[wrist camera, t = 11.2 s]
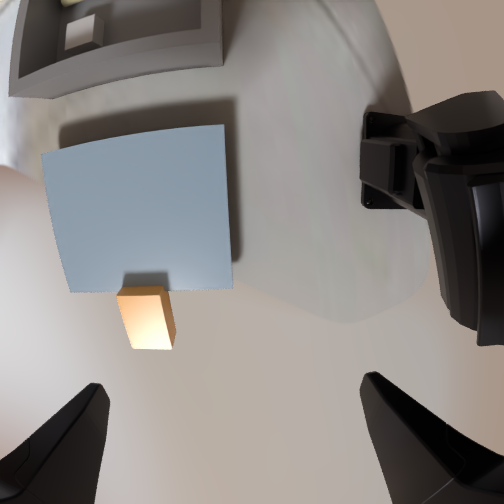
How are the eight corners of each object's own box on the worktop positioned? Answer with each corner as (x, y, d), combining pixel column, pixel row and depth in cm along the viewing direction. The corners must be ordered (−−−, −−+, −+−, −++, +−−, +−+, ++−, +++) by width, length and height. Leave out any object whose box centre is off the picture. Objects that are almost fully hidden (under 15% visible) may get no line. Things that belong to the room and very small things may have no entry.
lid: (224, 125, 16) (223, 123, 14) (236, 321, 22) (237, 347, 19) (55, 151, 16) (30, 156, 13) (94, 322, 21) (81, 345, 19)
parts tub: (221, -51, 11) (219, -91, 6) (223, 66, 15) (219, 42, 10) (63, -13, 10) (30, -35, 6) (52, 99, 14) (8, 96, 10)
